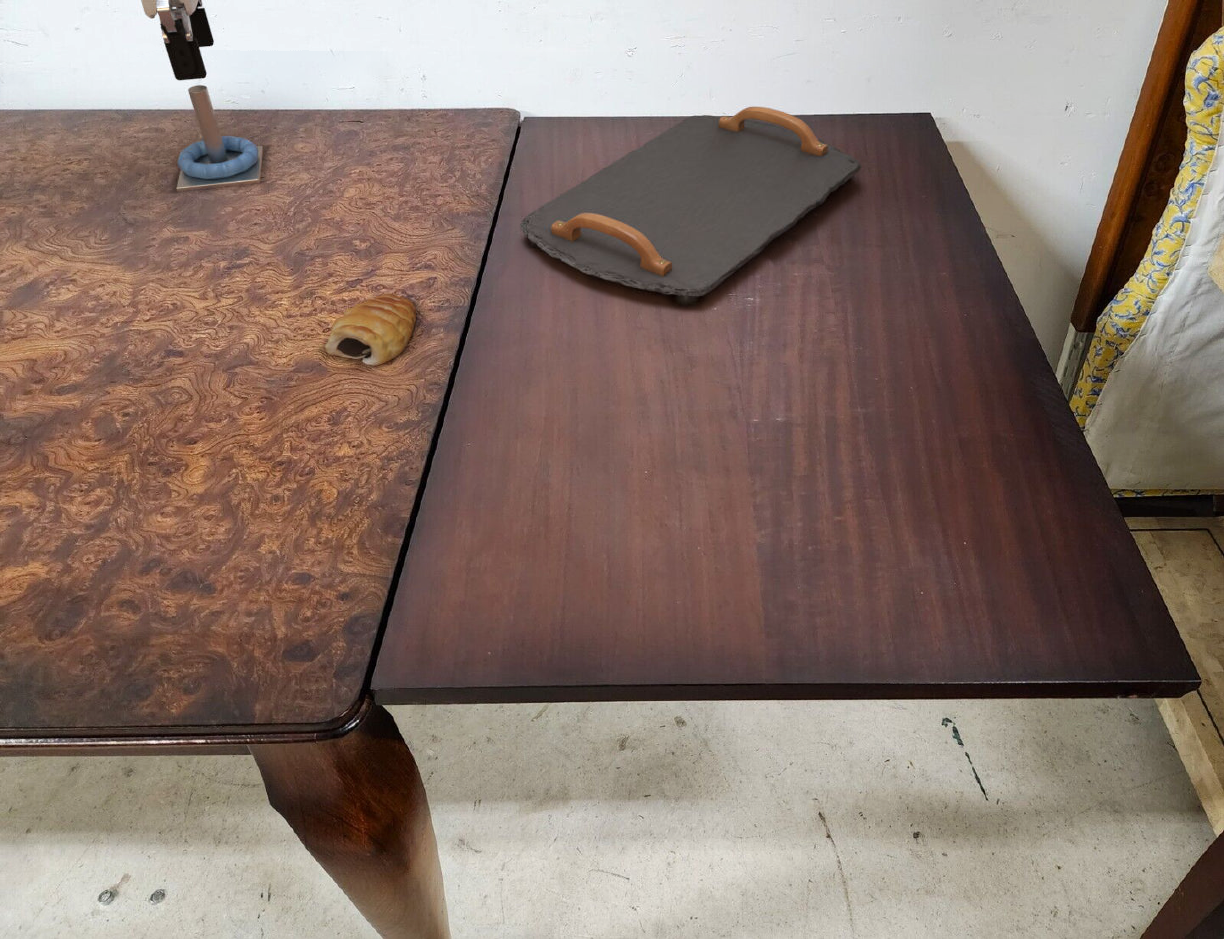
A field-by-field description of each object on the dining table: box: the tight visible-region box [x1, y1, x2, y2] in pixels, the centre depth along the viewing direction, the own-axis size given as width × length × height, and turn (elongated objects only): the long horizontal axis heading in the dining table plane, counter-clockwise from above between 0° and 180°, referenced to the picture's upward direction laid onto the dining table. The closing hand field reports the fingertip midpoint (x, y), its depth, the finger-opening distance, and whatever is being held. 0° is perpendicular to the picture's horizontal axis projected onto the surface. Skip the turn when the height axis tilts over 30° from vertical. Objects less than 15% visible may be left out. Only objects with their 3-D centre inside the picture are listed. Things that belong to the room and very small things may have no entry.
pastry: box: [324, 293, 417, 366], centre depth 88 cm, size 9×7×4 cm
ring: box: [177, 135, 258, 179], centre depth 113 cm, size 9×9×2 cm
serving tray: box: [519, 106, 862, 307], centre depth 104 cm, size 39×23×6 cm, turn 143°
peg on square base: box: [176, 84, 264, 193], centre depth 110 cm, size 9×9×10 cm
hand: (196, 61), depth 108 cm, fingers open, 9 cm apart
